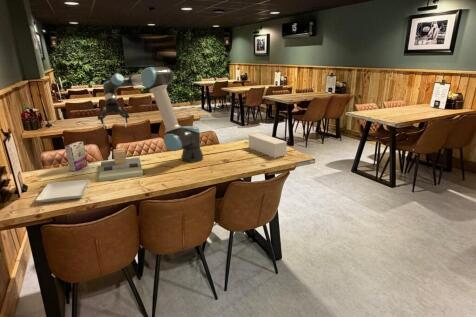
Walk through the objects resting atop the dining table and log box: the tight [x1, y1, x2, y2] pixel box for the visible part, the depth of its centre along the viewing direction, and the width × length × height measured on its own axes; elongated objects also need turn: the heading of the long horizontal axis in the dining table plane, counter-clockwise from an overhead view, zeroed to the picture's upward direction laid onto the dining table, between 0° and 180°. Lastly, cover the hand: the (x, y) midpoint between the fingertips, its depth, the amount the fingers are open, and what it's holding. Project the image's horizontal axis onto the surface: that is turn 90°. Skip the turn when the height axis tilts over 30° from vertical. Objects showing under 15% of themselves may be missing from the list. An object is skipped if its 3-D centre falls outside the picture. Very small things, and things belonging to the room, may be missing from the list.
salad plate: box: [35, 179, 91, 203], centre depth 154 cm, size 21×21×3 cm
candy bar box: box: [64, 141, 88, 172], centre depth 189 cm, size 11×5×16 cm, turn 168°
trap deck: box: [98, 157, 144, 182], centre depth 187 cm, size 30×24×2 cm
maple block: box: [112, 148, 127, 165], centre depth 194 cm, size 7×7×8 cm
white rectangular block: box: [248, 132, 288, 159], centre depth 222 cm, size 32×11×11 cm, turn 33°
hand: (115, 127), depth 203 cm, fingers open, 13 cm apart
